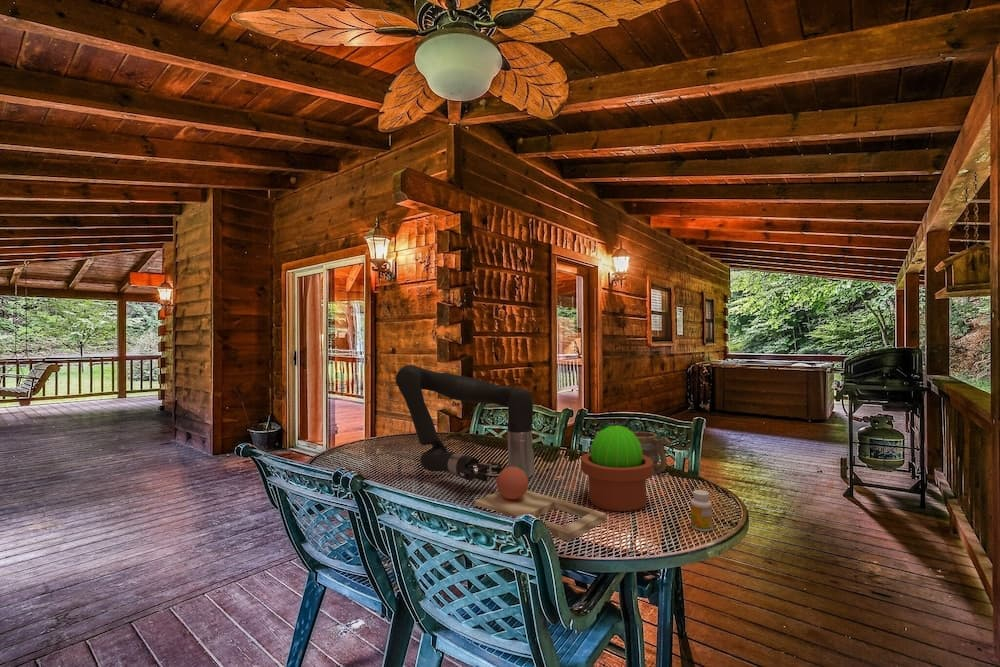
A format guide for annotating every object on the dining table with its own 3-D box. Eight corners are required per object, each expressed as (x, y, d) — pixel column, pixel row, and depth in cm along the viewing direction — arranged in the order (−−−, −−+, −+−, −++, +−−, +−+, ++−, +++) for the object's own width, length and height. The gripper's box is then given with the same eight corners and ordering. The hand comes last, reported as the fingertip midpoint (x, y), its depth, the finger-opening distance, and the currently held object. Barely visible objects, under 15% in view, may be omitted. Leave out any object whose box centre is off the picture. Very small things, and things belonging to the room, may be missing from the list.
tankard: (620, 468, 183) (619, 430, 183) (645, 464, 188) (644, 427, 188) (655, 482, 165) (654, 440, 165) (682, 477, 170) (681, 437, 170)
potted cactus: (667, 512, 138) (665, 428, 138) (597, 518, 135) (595, 432, 134) (634, 488, 160) (632, 415, 160) (573, 492, 156) (571, 418, 156)
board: (513, 491, 158) (513, 486, 158) (606, 520, 133) (605, 513, 133) (474, 506, 145) (474, 500, 145) (569, 541, 120) (569, 533, 120)
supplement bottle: (687, 524, 129) (686, 489, 129) (705, 523, 130) (705, 488, 130) (697, 532, 124) (696, 496, 124) (716, 531, 124) (715, 495, 124)
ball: (511, 491, 153) (511, 460, 153) (535, 498, 146) (534, 466, 146) (490, 499, 146) (489, 467, 146) (513, 507, 139) (513, 473, 139)
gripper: (447, 459, 157) (480, 468, 146) (478, 451, 167) (511, 459, 156) (447, 481, 157) (480, 492, 146) (478, 471, 167) (511, 481, 156)
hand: (496, 475), depth 151 cm, fingers open, 8 cm apart
